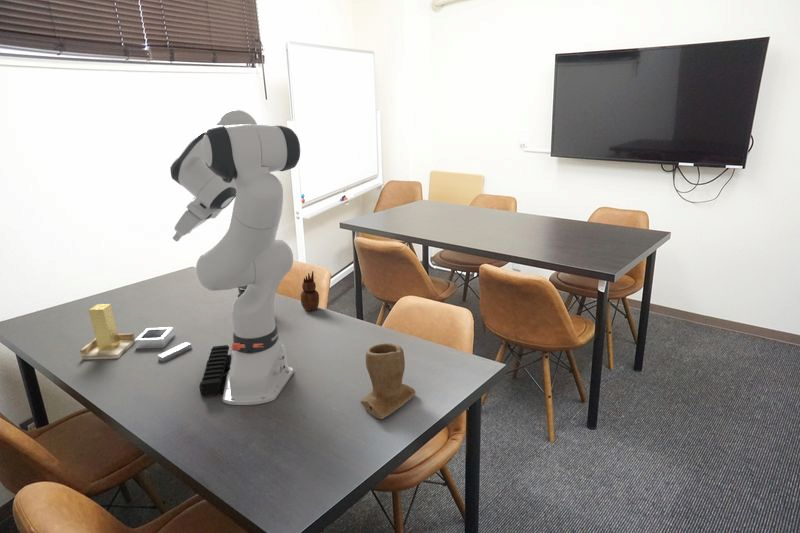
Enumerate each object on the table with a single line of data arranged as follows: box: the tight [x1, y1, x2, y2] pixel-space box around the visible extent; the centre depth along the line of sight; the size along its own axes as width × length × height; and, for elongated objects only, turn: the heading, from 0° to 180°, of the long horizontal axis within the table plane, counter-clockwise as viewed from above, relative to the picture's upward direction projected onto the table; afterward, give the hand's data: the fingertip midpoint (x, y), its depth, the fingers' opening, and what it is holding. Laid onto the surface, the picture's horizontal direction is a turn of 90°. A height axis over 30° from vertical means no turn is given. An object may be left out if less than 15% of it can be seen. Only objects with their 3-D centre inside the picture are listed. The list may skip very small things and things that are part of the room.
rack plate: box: [80, 332, 136, 360], centre depth 155 cm, size 11×11×3 cm
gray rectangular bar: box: [157, 342, 193, 363], centre depth 153 cm, size 10×2×2 cm, turn 149°
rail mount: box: [199, 344, 232, 397], centre depth 138 cm, size 21×6×5 cm, turn 12°
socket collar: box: [134, 326, 176, 349], centre depth 161 cm, size 9×9×3 cm
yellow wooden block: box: [88, 303, 120, 351], centre depth 153 cm, size 4×4×14 cm
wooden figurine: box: [300, 270, 320, 312], centre depth 182 cm, size 7×6×15 cm
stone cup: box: [360, 342, 416, 420], centre depth 124 cm, size 15×12×15 cm
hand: (181, 235), depth 157 cm, fingers open, 8 cm apart
